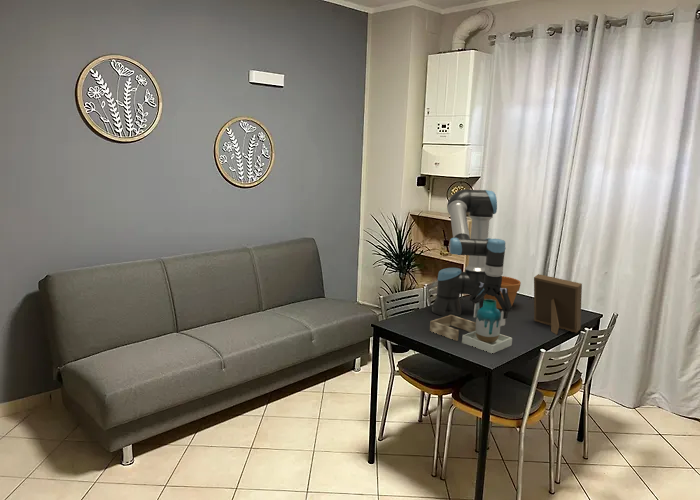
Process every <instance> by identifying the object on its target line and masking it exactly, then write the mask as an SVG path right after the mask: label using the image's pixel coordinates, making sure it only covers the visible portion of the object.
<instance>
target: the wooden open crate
mask: <svg viewBox="0 0 700 500" xmlns="http://www.w3.org/2000/svg"><path fill="white" fill-rule="evenodd" d="M456 328H458V329H456ZM459 329H460V330H464V331H466V332H468V333H470V332H473V331H476V321H471V320H469V319H466V318H462V317H459V316H454V315H448V316H442V317H439V318H435V319H434V320H430V323H429V332H430V331H431V333H433V332H434V334H436V333H437V335H439V336H441V335H442V337H444V336H445V338H447V339H451V340H452V339H453V341H456V342H458V341H459V335H460V334H459V333H460V330H459Z"/></svg>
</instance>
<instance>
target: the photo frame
mask: <svg viewBox="0 0 700 500" xmlns="http://www.w3.org/2000/svg"><path fill="white" fill-rule="evenodd" d="M582 288H583V283H581V282H576V281H572V280H566V279H562V278H558V277H554V276H549V275H545V274H540V273H538V274H536V275H535V276H534V277H533V312H534V313H533V314H534V315H533V317H534V318H533V319H534V320H533V321H534V322H537V323H541V324H544V325H548V326H550V332H551V333H553V334H555V335H558V333H559V329H561V330H564V329H565V331H569V332H571V333H575V334H577V333H579V331H580V330H581V328H582V321H581V320H582V293H583V292H582V291H583V289H582Z"/></svg>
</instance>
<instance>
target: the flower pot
mask: <svg viewBox="0 0 700 500" xmlns="http://www.w3.org/2000/svg"><path fill="white" fill-rule="evenodd" d="M501 276H502V284H501V288H504V289H505V288H507V289H508V296H509V299H510V302H511V305H512V306H513V305H514V303H515V299H516V297H517V294H518V292H519V291H520V288H521V285H522V282H521V281H520V280H519V279H516V278H514V277H511V276H505V275H504V276H503V275H501ZM500 293H501V291H500ZM501 295H502V293H501ZM502 298H503V295H502ZM485 299H493V300H495V301H496V308H497V309H498V310H503V309H502V308H501V306H500V304H499V302H498V300H497V299H496V298H495V296H491V295H487V294H486V295H485V296H484V297H483V301H484V300H485ZM503 300H504V299H503Z"/></svg>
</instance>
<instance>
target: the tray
mask: <svg viewBox="0 0 700 500" xmlns="http://www.w3.org/2000/svg"><path fill="white" fill-rule="evenodd" d="M461 344H464V345H467V346H470V347H472V346H473V347H472V348H475V347H476V349H478V350H481V351H483V350H484V352H486V351H487V353H488V354H492V353H493V354H495V353H497V352H500V351H502V350H504V349H506V348H509V347H511V346H513V345H512V344H513V337H510V336H507V335H504V334H501V333H499V337H498V339H497V340H496V341H495V342H493V343H485V342H482V341H480V340H478V338H477V337H476V331H473V332H468V333H466V334H462V337H461Z"/></svg>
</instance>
